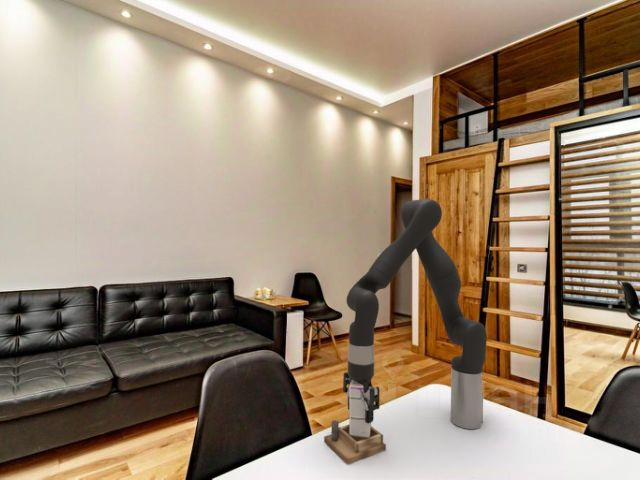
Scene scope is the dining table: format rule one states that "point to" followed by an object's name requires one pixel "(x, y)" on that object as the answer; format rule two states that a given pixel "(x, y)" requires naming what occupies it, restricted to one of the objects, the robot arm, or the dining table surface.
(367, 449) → the board
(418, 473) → the dining table surface
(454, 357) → the robot arm
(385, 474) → the dining table surface
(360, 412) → the syrup box
